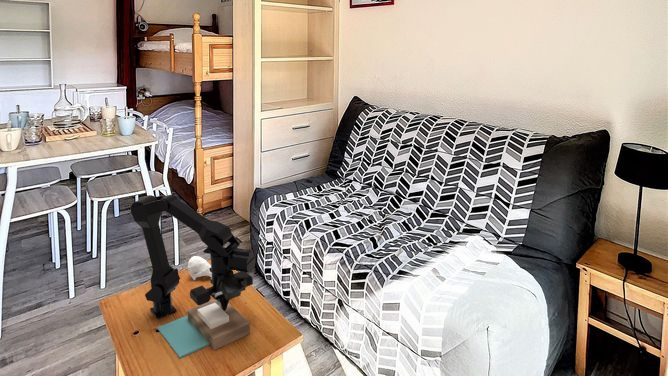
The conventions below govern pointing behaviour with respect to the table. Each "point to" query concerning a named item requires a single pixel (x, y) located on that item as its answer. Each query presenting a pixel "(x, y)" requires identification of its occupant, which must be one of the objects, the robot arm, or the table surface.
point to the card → (213, 315)
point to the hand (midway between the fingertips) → (224, 310)
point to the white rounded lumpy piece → (198, 267)
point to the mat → (183, 336)
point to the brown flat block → (221, 333)
